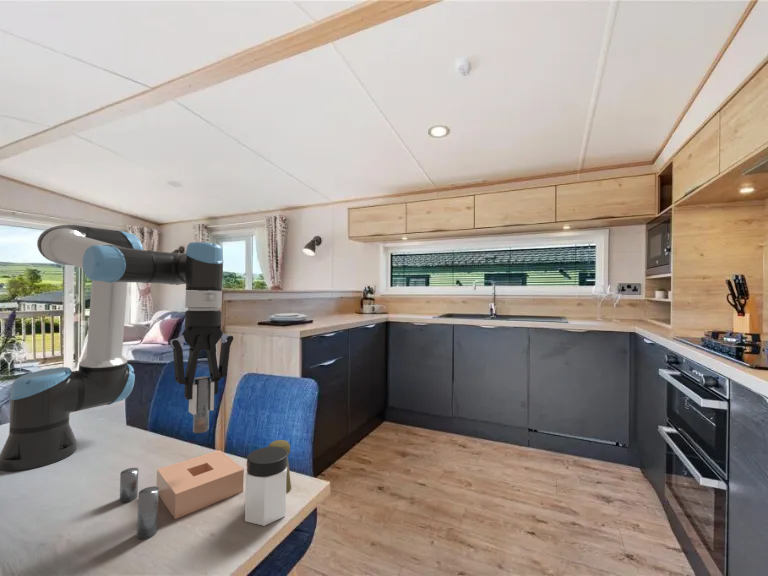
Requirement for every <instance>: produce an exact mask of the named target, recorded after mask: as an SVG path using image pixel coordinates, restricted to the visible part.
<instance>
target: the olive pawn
mask: <svg viewBox="0 0 768 576" xmlns="http://www.w3.org/2000/svg"><path fill="white" fill-rule="evenodd" d="M267 447H281V448H284V449H285V450H286V451H287V452H288V456H289V455H290V452H291V444H290V442H288V440H284V439H278V440H276V439H275V440H273V441H271V442H270V443H269V444H268V446H267ZM291 490H292V481H291V475H290V463H289V462H288V463H287V494H288V493H289V492H290V491H291Z"/></svg>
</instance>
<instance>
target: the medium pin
mask: <svg viewBox="0 0 768 576" xmlns="http://www.w3.org/2000/svg"><path fill="white" fill-rule="evenodd" d="M156 486H157V485H156ZM156 486H154V485H152V486H147V487H145V488H143V489H141V490H140V491H138V497H137V518H136V535H135V536H136V539H137V540H141V541H143V540H149V538H153V537H154V536H155V535H156V534H157V532H158V518H159V517H158V516H159V513H158V512H159V497H160V496H159V488H158V487H156Z"/></svg>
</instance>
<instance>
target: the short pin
mask: <svg viewBox="0 0 768 576" xmlns="http://www.w3.org/2000/svg"><path fill="white" fill-rule="evenodd" d="M119 479H120V481H119V503H121V504H127V503H131V502H133V501H134V500H136V499H138V495H139V468H138V467H130V468H125V469H124V470H122V471H121V472H120V478H119Z"/></svg>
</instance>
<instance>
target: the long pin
mask: <svg viewBox="0 0 768 576" xmlns="http://www.w3.org/2000/svg"><path fill="white" fill-rule="evenodd" d="M210 380H211V378H210V376H197V377H194V382H193V383H194V384H196V385H197V404H196V414H194V415H193V416H192V417H193V419H192V422H193V423H192V424H193V425H192V432H193V433H194V434H203V433H206V432H208V431H209V429H210V428H209V427H210V423H209V422H210V410H209V394H210Z"/></svg>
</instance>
